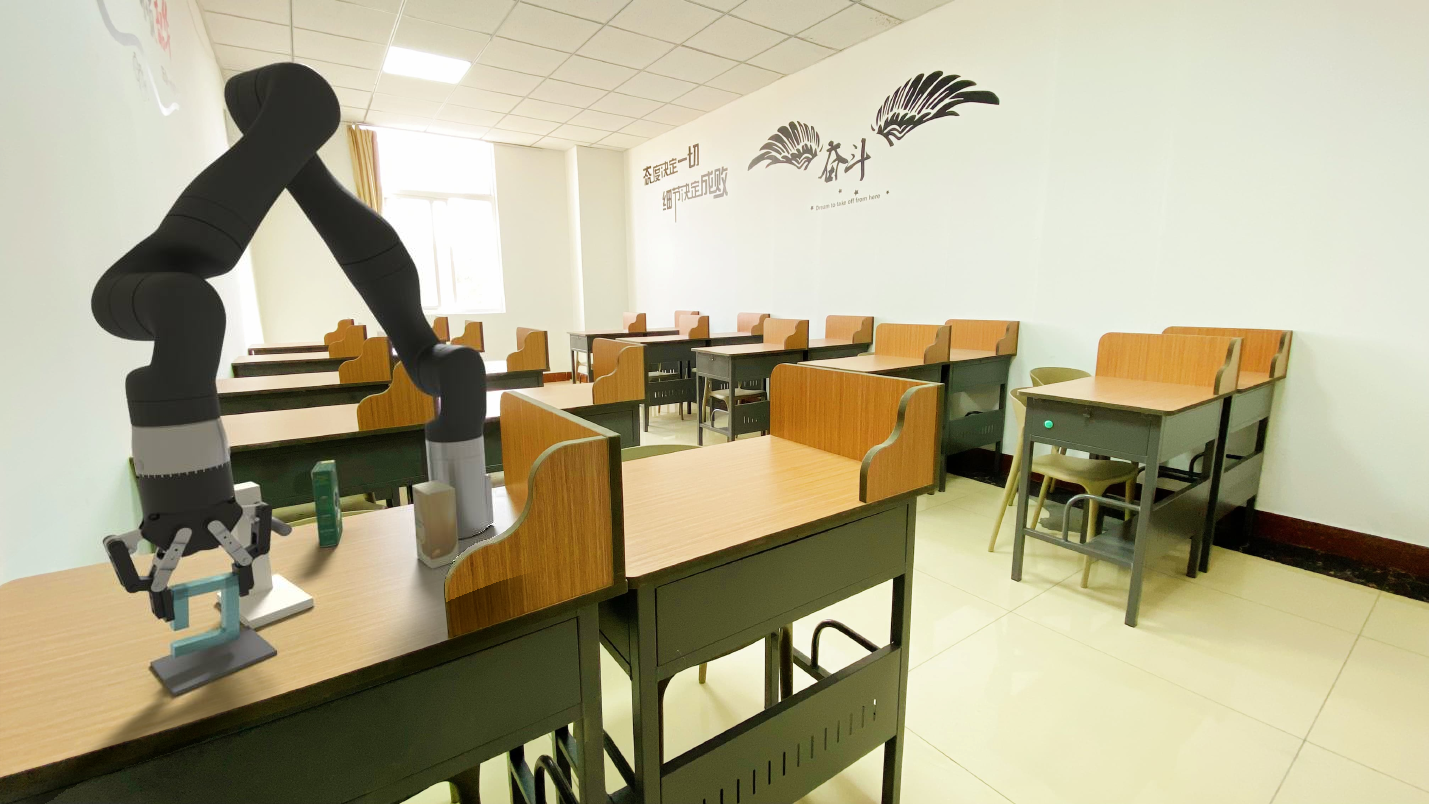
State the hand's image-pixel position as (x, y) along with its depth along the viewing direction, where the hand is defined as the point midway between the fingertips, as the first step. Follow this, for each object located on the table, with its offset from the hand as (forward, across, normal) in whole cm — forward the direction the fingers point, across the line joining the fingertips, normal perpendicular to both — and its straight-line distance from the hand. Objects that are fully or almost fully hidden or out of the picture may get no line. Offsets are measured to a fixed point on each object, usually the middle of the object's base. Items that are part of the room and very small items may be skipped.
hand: (206, 605), depth 64 cm
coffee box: (+7, -23, -27) cm, 36 cm away
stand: (+7, -8, -8) cm, 13 cm away
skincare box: (+7, -29, -4) cm, 30 cm away
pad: (+7, 0, 0) cm, 7 cm away
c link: (+5, +1, 0) cm, 5 cm away
